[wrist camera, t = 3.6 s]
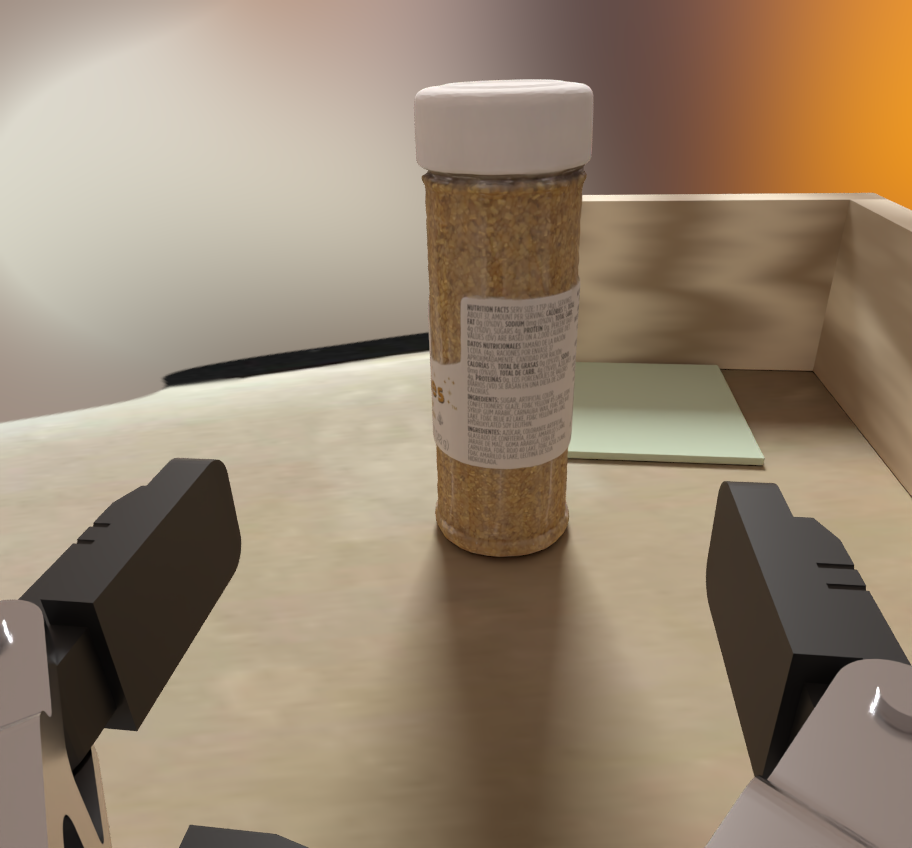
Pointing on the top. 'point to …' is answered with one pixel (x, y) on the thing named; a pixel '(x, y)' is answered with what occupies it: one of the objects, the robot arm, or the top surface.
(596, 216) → the light wood l-shaped panel
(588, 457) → the pad
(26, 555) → the top surface
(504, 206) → the sprinkles bottle
